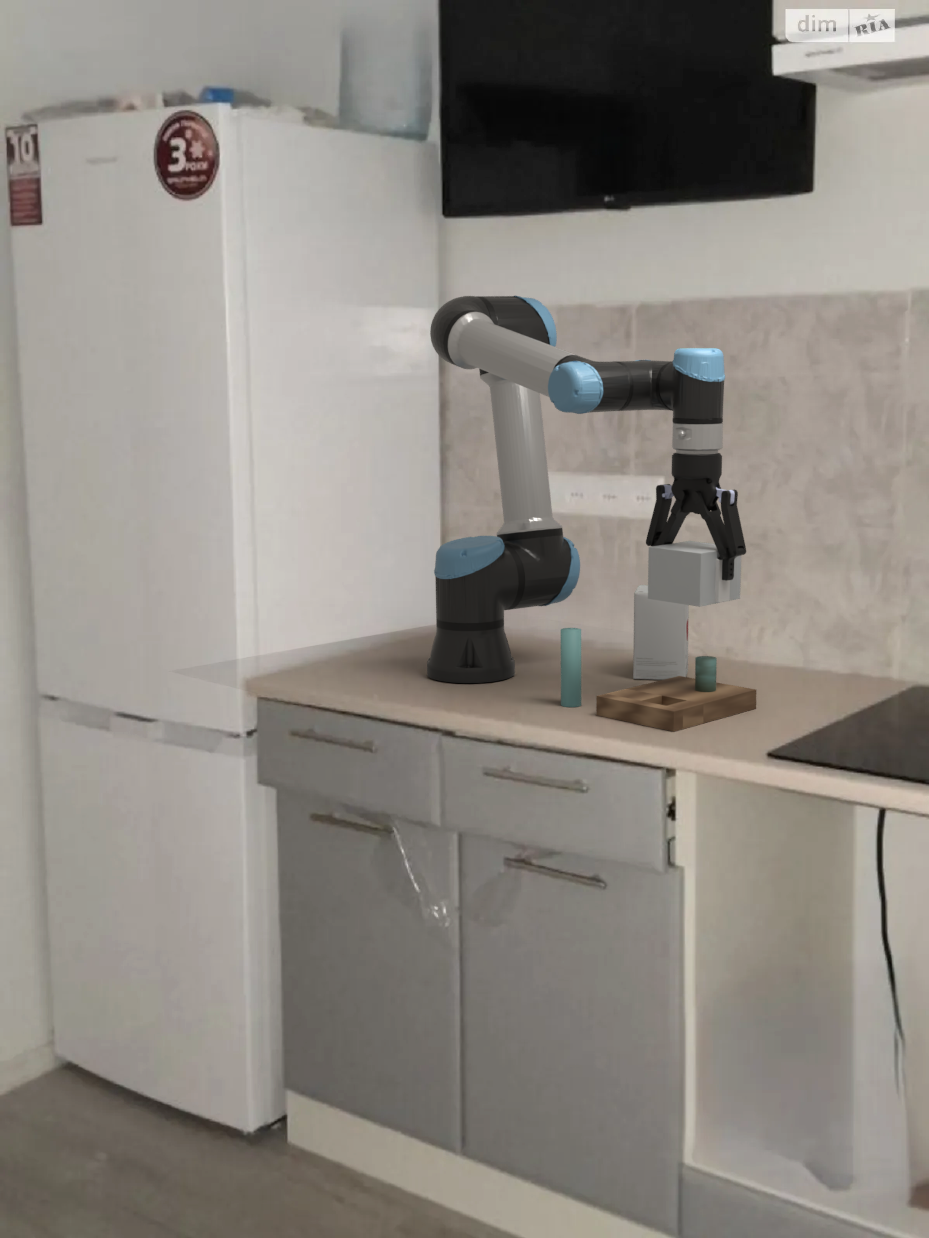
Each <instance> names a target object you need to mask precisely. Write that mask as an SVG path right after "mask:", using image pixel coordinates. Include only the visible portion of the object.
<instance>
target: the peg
mask: <svg viewBox="0 0 929 1238" xmlns="http://www.w3.org/2000/svg"><path fill="white" fill-rule="evenodd" d="M560 706H561V707H563V708H578V707H581V706H582V629H581V628H578V627H564V628H561V629H560Z"/></svg>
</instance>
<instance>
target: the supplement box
mask: <svg viewBox="0 0 929 1238" xmlns="http://www.w3.org/2000/svg"><path fill="white" fill-rule="evenodd" d="M633 598H634V599H633V658H632V659H633V664H632V665H633V666H632V667H633V672H632V673H633V674H632V678H633V680H654V681H655V680H656V681H660V680H664V679H668V678H672V677H677V676H683V677H687V675H688V670H689V626H690V625H689V618H690V617H689V616H690V615H689V613H690V611H689V610H690V607H689V606H690V605H685V604H679V603H672V602H666V601H659V600H653V599H648V584H647V585H646V584H640V585H638V586H637V588H635V592H634V593H633Z"/></svg>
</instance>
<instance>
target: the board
mask: <svg viewBox="0 0 929 1238" xmlns="http://www.w3.org/2000/svg"><path fill="white" fill-rule="evenodd" d="M694 661H695V662H694V663H695V666H694V668H695V669H694V670H695V671H694V673H695V674H694V677H689V676H686V677H683V676H677V677H672V678H668V679H664V680H656V681H652V682H648V683H645V684H644V683H643V684H641V685H636V686H633V687H628V688H624V689H623V688H622V689H619V690H616V691H615V690H614V691H611V692H607V693H603V694H598V695H596V697H595V698H596V700H595V702H596V703H595V704H596V707H595V711H596V712H595V713H596V714H595V715H596V716H599V717H603V718H608V719H612V720H617V721H623V722H627V723H631V724H636V725H640V726H644V727H645V726H646V727H650V728H655V729H658V730H659V729H661V730H664V731H669V732H677V731H681V730H684V729H687V728H689V729H690V728H692V727H695V726H700V725H702V724H706V723H710V722H713V721H716V720H717V721H718V720H721V719H724V718H727V717H732V716H734V715H738V714H741V713H745V712H749V711H752V710H756V709H757V689H755V688H751V687H750V688H749V687H745V686H739V685H738V686H737V685H733V684H727V683H722V682H718V681H717V664H718V663H717V657H716V656H710V655H701V656H700V655H699V656H696V657H695V660H694Z"/></svg>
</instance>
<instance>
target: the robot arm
mask: <svg viewBox="0 0 929 1238" xmlns="http://www.w3.org/2000/svg"><path fill="white" fill-rule="evenodd" d="M429 331H430V333H429V335H430V341H431V345H432V347H433V349H434V351H435V353H436V354H437V355H438V357H440V358H441V359H442V360H443V361H445V362H447V363H449V364H451V365H454V366H456V367H458V368H461V369H463V370H473V369H479V371H478V372H479V378H480V380H481V381H483V383H484V384H486V385H487V386H488V387H489V393H490V402H491V403H490V404H491V409H492V410H491V411H492V412H491V413H492V419H493V421H492V422H493V430H494V440H495V449H496V458H497V467H498V469H497V470H498V476H499V477H498V478H499V486H500V496H501V504H502V505H501V506H502V515H503V516H502V517H503V524H502V525H501V527H500V528H499V529H498V531H497V532H496V535H478V536H477V535H476V536H468V537H466V536H465V537H462V538H457V539H453V540H450V541H448V542H445V543H443V544H441V545H440V547H439V548H437V551H436V554H435V561H434V562H435V564H434V570H433V573H434V576H435V615H436V616H435V617H436V619H435V621H436V625H435V626H436V628H435V629H436V631H435V636H434V639H433V643H432V646H431V652H430V656H429V657H428V658H427V662H426V674H427V675H426V676H427V677H428V678H430V679H431V680H435V681H439V682H444V683H457V684H458V683H459V684H480V683H482V684H483V683H492V682H498V681H499V682H500V681H503V680H506V679H510V678H512V677H514V676H515V673H516V671H515V669H516V668H515V667H516V666H515V665H516V664H515V659H514V657H513V656H512V652H511V648H510V645H509V642H508V637H507V634H506V630H505V611H509V610H517V609H525V608H533V607H547V606H550V605H551V604H552V605H553V604H558V603H560V602H563V601H565V600H566V599H568V598H569V597H570V596H571V595H572V594H573V591H574V589H575V588H576V587H577V584H578V582H579V578H580V574H581V559H580V554H579V551H578V548H576V547H575V543H574V542H573V541H572V540H571V539H569V538H567V537H565V536H564V532H563V525H561V524H560V523H559V522H558V521H557V520H556V519H555V518H554V517H553V508H552V500H551V499H552V498H551V489H550V480H549V470H548V461H547V460H548V459H547V451H546V441H545V432H544V422H543V421H544V420H543V411H542V402H541V395H543V396H545V397H548V398H549V400H550V402H551V403H552V404H553V405H554V408H556V410H558V412H559V411H560V412H563V413H567V414H569V413H571V414H572V413H573V414H576V415H577V414H578V415H583V414H587V413H589V414H590V413H603V412H604V413H606V412H622V411H623V412H624V411H625V412H628V411H630V412H631V411H653V410H654V411H672V437H671V438H672V440H671V441H672V443H671V444H672V445H671V448H672V449H673V450H675V452H674V453H673V454H672V455H671V476H672V477H673V482H672V484H670V483H667V484H657V485H656V487H655V498H656V499H655V503H654V508H653V512H652V516H651V519H650V523H649V526H648V530H647V531H648V532H647V535H646V540H645V544H646V545H647V546H648V547H653V546H659V545H666V544H672V543H675V539H676V538H677V535H678V533H679V532H680V530H681V528H682V525H684V522H685V520H686V518H687V517H688V516H689V515H690V513H693V514H695V515H700V517H701V519H702V520H703V521H705V524H706V526H707V528H708V531H709V533H710V536H711V539H712V540H713V544H715V545H716V548H717V550H718V553H719V555H720V557H718V559H716V575H715V602H718V603H717V604H720V603H719V602H721V603H725V602H724V601H726V602H730V601H729V599H730V580H733V577H734V560H735V558H736V557H737V556H741V557H742V556H743V555H746V554H747V548H746V542H745V537H744V534H743V527H742V522H741V520H740V519H741V518H740V514H739V509H738V497H739V492H738V490H737V489H735V488H734V489H723V488H722V487H721V485H720V484H721V483H720V479H721V476H722V473H723V472H722V471H723V469H722V468H723V455H722V454H721V453H720V452H719V451H720V450H722V449H723V447H724V446H723V445H724V443H723V441H724V440H723V439H724V429H723V428H724V423H723V422H724V396H725V395H724V394H725V393H724V391H725V380H726V374H725V359H724V357H725V356H724V353H723V351H722V350H721V349H719V348H715V347H708V348H707V347H703V348H702V347H697V348H696V347H688V348H683V347H682V348H677V349H676V350H674V354H673V360H672V361H668V360H651V359H635V360H627V361H626V360H623V361H622V360H620V361H617V360H616V361H614V360H613V361H595V360H591V359H589V358H586V357H583V356H580V355H578V354H574V353H572V352H569V351H567V350H565V349H562V348H559V347H557V339H558V338H557V336H558V335H557V328H556V324H555V319H554V318H553V316H552V314H551V312H550V310H549V309H548V307H547V306H545V305H544V304H543V303H542V302H541V301H540V300H539V299H536V298H534V297H533V298H532V297H524V296H518V295H513V296H512V295H511V296H510V295H509V296H508V295H506V296H505V295H501V296H500V295H498V296H497V295H494V296H493V295H492V296H489V295H488V296H484V295H483V296H479V295H478V296H475V295H463V296H460V297H455V298H453V299H451V300H449V301H446V302H445V303H444V304H443V305H441V307H440V308H439V309H438V310H437V311H436V313H435V314H434V316H433V318H432V321H431V323H430V330H429ZM673 498H674V499H675V501H674V503H673V505H672V501H673ZM717 501H718V502H717ZM718 503H720V505H719V504H718ZM719 506H720V507H719ZM669 514H670V515H669Z"/></svg>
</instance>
